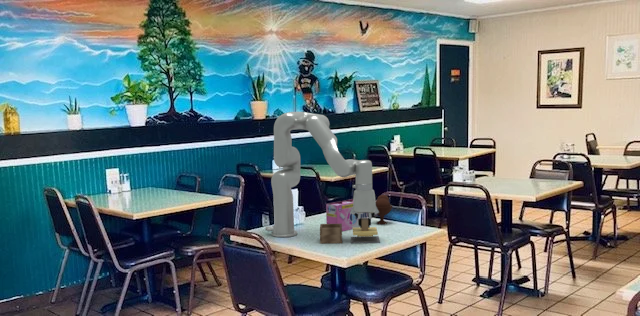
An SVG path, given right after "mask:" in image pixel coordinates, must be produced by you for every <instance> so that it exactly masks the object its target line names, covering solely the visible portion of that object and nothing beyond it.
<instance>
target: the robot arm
mask: <svg viewBox="0 0 640 316" xmlns="http://www.w3.org/2000/svg"><path fill="white" fill-rule="evenodd" d="M274 121H275V122H274V124H273V161H274V162H273V163H274V165H276V166H277V167H278V168H282V169H280V170H277V171H275V172H274V173H273V174H272V176H271V178H270V179H271V181H270V183H271V188H272V189H271V190H272V194H273V195H272V196H273V197H272V198H273V199H272V200H273V217H274V218H273V221H274V222H273V223H274V225H271V226H265V228H264V229H265V231H268V232H271V233H270V234H271V236H273V237H277V238H290V237H294V236H297V235H298V231H297V230H295V216H294V215H295V214H294V211H295V210H294V209H295V208H294V194H293V190H292V188H294V187H296V186H297V185H298V184H299V183H300V180H301V154H300V151H299V150H298V148H297V147H295V146H292V145H293V144H292V141H293V140H292V134H291V131H293V130H295V131H296V130H305V131H308V132H309V134H310V136H312V139H314V140H315V142H316V143H317V144H318V146H319V147H320V148H321V150H322V153H323V155H324V159H325V160H326V162H327V164H328V165H329V167H330V168H331V170H333V172H334V173H335V174H336V175H337V176H338V177H340V178H348V177H350V176H355V184H352V189H355V190H354V191H353V197H352V199H353V207H352V209H351V211H350V213H351V214H353V215H355V216H356V217H357V218H358V224H359V226H360V228H362V219H361V213H367V215H368V228H370V227H371V226H372V218H373V217H375V215H377V213H379V211H378V209H377V207H376V201H377V200H376V194H375V190H374V189H373V163H372V160H369V159H361V160H358V159H349V158H348V159H345V158H344V156H343V155H342V153H340V151H339V148H338V138H337V136H336V135H335V134H334V132H333V131H332V130H331V128H330V125H331V124H330V121H329V118H328V117H327V116H326V115H324V114H319V113H311V112H306V111H289V112H285V113H282V114H281V115H279V116H278V117H277V118H276V120H274ZM357 213H358V214H357Z"/></svg>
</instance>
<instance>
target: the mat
mask: <svg viewBox="0 0 640 316" xmlns="http://www.w3.org/2000/svg"><path fill="white" fill-rule="evenodd" d="M350 243H351V244H380V243H381V240H380V237H379V235H373V236H358V237H357V236H350Z"/></svg>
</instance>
